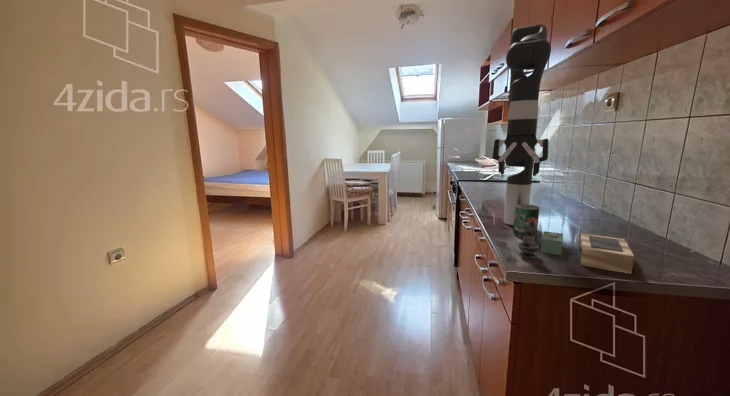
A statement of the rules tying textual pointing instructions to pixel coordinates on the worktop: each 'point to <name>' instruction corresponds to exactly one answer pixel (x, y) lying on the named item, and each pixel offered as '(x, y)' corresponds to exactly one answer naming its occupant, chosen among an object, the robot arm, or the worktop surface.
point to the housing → (552, 243)
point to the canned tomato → (525, 218)
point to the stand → (606, 253)
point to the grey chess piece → (528, 242)
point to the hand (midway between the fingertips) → (517, 174)
